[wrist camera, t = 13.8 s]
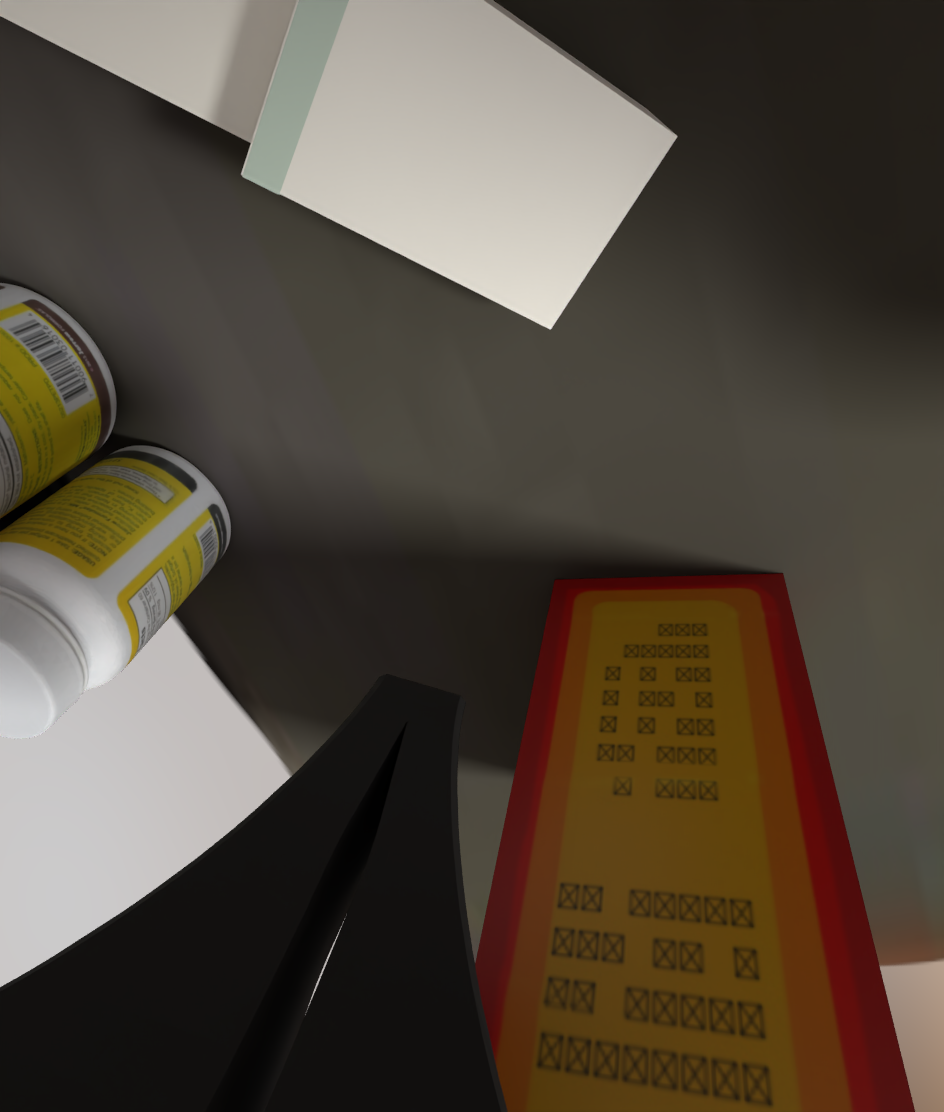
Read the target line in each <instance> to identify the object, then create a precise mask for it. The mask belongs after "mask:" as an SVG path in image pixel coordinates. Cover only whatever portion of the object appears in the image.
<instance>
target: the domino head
mask: <svg viewBox="0 0 944 1112" xmlns="http://www.w3.org/2000/svg"><path fill="white" fill-rule="evenodd" d="M677 137H678V136H677V135H676V134H674V133H673V132H672V131H671V130H670V129H669V128H668V127H667V126H666V125H664V124H663V123H662V122H661V121H660V120H659V119H658V118H657V117H655V116H654V115H653V114H652V113H651V112H650V111H649V110H648V109H646V108H645V107H644V106H642V105H641V104H639V103H638V102H636V101H635V100H634V99H632V98H631V97H629V96H628V95H627V94H625V93H624V92H622V91H621V90H619V89H618V88H617V87H615V86H614V85H612V84H611V83H610V82H608V81H607V80H605V79H604V78H602V77H601V76H600V75H598V74H597V73H595V72H594V71H593V70H591V69H590V68H588V67H587V66H585V65H584V64H583V63H581V62H580V61H578V60H577V59H576V58H574V57H573V56H571V55H570V54H568V53H567V52H566V51H564V50H563V49H561V48H560V47H559V46H557V45H556V44H554V43H553V42H551V41H550V40H549V39H547V38H546V37H544V36H543V35H542V34H540V33H539V32H537V31H536V30H534V29H533V28H532V27H530V26H529V25H527V24H526V23H525V22H523V21H522V20H520V19H519V18H517V17H516V16H515V15H513V14H512V13H510V12H509V11H508V10H506V9H505V8H503V7H502V6H500V5H499V4H498V3H496V2H495V1H493V0H297V1H296V4H295V8H294V11H293V14H292V17H291V20H290V23H289V26H288V29H287V33H286V36H285V39H284V42H283V45H282V48H281V51H280V54H279V57H278V61H277V64H276V67H275V70H274V73H273V76H272V79H271V82H270V85H269V89H268V92H267V95H266V98H265V101H264V104H263V107H262V110H261V114H260V117H259V120H258V123H257V126H256V129H255V132H254V135H253V138H252V142H251V145H250V148H249V151H248V154H247V157H246V160H245V163H244V167H243V170H242V173H241V175H242V177H244V178H246V179H248V180H250V181H252V182H254V183H256V184H258V185H260V186H262V187H264V188H266V189H268V190H270V191H272V192H274V193H276V194H278V195H279V194H281V195H283V196H285V197H287V198H289V199H291V200H293V201H295V202H297V203H299V204H301V205H303V206H305V207H307V208H309V209H311V210H313V211H315V212H317V213H319V214H321V215H323V216H325V217H327V218H329V219H331V220H333V221H335V222H337V223H339V224H341V225H343V226H345V227H347V228H349V229H351V230H353V231H355V232H357V233H359V234H361V235H363V236H365V237H367V238H369V239H371V240H373V241H375V242H377V243H379V244H381V245H383V246H385V247H387V248H389V249H391V250H393V251H395V252H397V253H399V254H401V255H403V256H405V257H407V258H409V259H411V260H413V261H415V262H417V263H419V264H421V265H423V266H425V267H427V268H429V269H431V270H433V271H435V272H437V273H439V274H441V275H443V276H445V277H447V278H449V279H451V280H453V281H455V282H457V283H459V284H461V285H463V286H465V287H467V288H469V289H471V290H473V291H475V292H477V293H479V294H481V295H483V296H485V297H487V298H489V299H491V300H493V301H495V302H497V303H499V304H500V305H502V306H504V307H506V308H508V309H510V310H512V311H514V312H516V313H518V314H520V315H522V316H524V317H526V318H528V319H530V320H532V321H534V322H536V323H538V324H540V325H542V326H544V327H546V328H548V329H550V330H551V328H552V327H553V325H554V324H555V322H556V321H557V319H558V318H559V316H560V315H561V313H562V312H563V310H564V308H565V307H566V305H567V304H568V302H569V301H570V299H571V298H572V296H573V295H574V293H575V292H576V290H577V289H578V287H579V286H580V284H581V283H582V281H583V280H584V278H585V277H586V275H587V274H588V272H589V270H590V269H591V267H592V266H593V264H594V263H595V261H596V260H597V258H598V257H599V255H600V254H601V252H602V251H603V249H604V248H605V246H606V245H607V243H608V242H609V240H610V239H611V237H612V235H613V234H614V232H615V231H616V229H617V228H618V226H619V225H620V223H621V222H622V220H623V219H624V217H625V216H626V214H627V213H628V211H629V210H630V208H631V207H632V205H633V204H634V202H635V200H636V199H637V197H638V196H639V194H640V193H641V191H642V190H643V188H644V187H645V185H646V184H647V182H648V181H649V179H650V178H651V176H652V175H653V173H654V172H655V170H656V169H657V167H658V166H659V164H660V162H661V161H662V159H663V158H664V156H665V155H666V153H667V152H668V150H669V149H670V147H671V146H672V144H673V143H674V141H675V140H676V138H677Z"/></svg>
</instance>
